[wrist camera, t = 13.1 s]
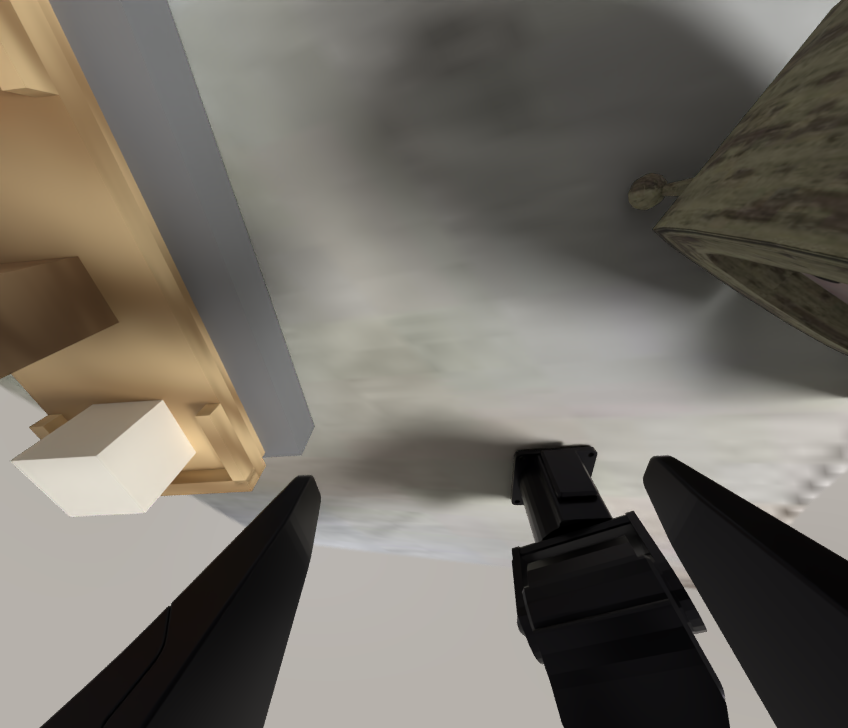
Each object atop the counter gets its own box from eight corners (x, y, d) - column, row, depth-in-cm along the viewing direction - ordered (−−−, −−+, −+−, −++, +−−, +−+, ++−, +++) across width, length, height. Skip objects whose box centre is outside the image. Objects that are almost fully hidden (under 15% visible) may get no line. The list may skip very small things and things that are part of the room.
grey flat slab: (314, 426, 25) (301, 455, 22) (145, 436, 26) (113, 466, 23) (129, -109, 12) (44, -190, 9) (-212, -57, 12) (-381, -118, 10)
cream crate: (196, 452, 19) (145, 513, 16) (133, 456, 19) (69, 516, 16) (162, 399, 17) (96, 456, 14) (92, 404, 17) (9, 460, 14)
